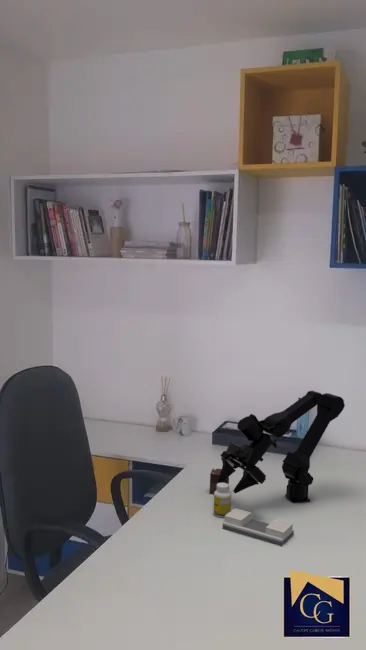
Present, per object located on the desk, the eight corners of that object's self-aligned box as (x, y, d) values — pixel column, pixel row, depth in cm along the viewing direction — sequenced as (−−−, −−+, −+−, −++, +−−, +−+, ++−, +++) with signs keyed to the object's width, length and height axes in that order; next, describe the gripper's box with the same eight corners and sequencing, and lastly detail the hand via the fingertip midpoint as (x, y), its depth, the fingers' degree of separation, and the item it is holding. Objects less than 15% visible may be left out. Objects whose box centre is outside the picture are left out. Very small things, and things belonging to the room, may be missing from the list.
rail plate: (222, 528, 182) (223, 516, 182) (236, 518, 190) (236, 507, 190) (281, 546, 172) (282, 533, 172) (293, 534, 180) (294, 522, 180)
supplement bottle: (212, 511, 195) (213, 481, 194) (229, 511, 195) (230, 481, 194) (214, 518, 190) (215, 487, 189) (231, 518, 190) (233, 487, 189)
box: (226, 496, 208) (227, 475, 207) (209, 494, 209) (209, 473, 208) (228, 489, 214) (229, 469, 213) (211, 487, 215) (212, 467, 214)
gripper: (226, 426, 201) (196, 463, 197) (260, 442, 185) (227, 482, 181) (245, 447, 206) (215, 483, 202) (279, 464, 190) (248, 503, 185)
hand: (226, 487), depth 192 cm, fingers open, 9 cm apart
